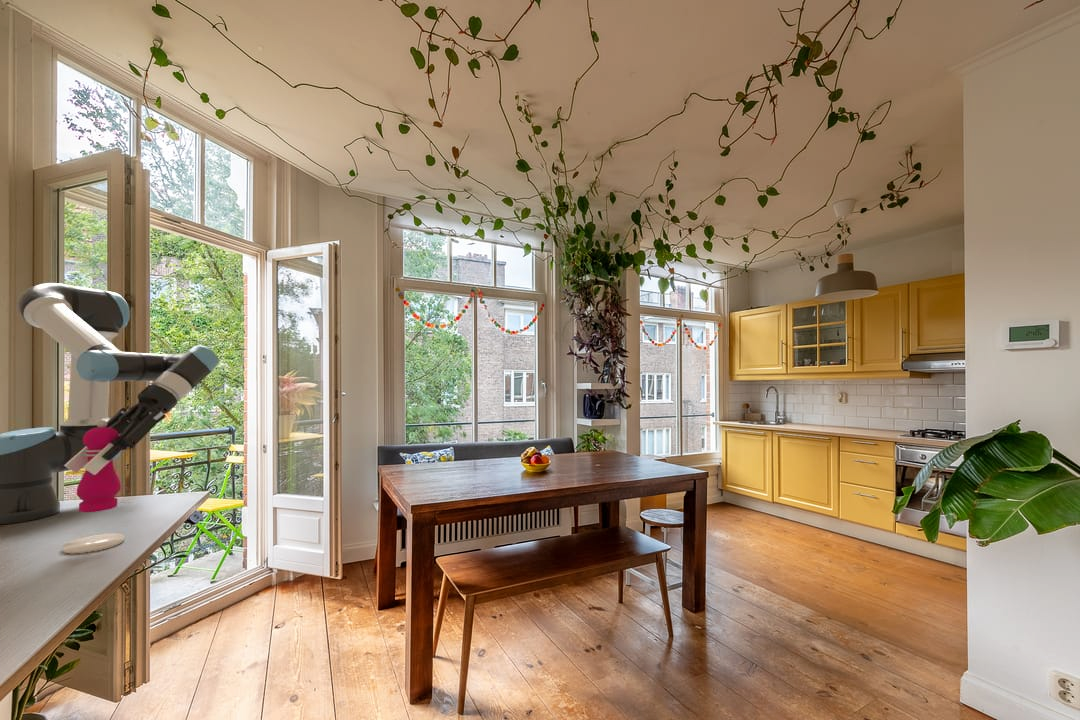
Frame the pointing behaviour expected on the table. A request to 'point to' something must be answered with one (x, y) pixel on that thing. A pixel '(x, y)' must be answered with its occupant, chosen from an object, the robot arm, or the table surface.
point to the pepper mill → (99, 473)
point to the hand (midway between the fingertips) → (79, 470)
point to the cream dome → (93, 543)
